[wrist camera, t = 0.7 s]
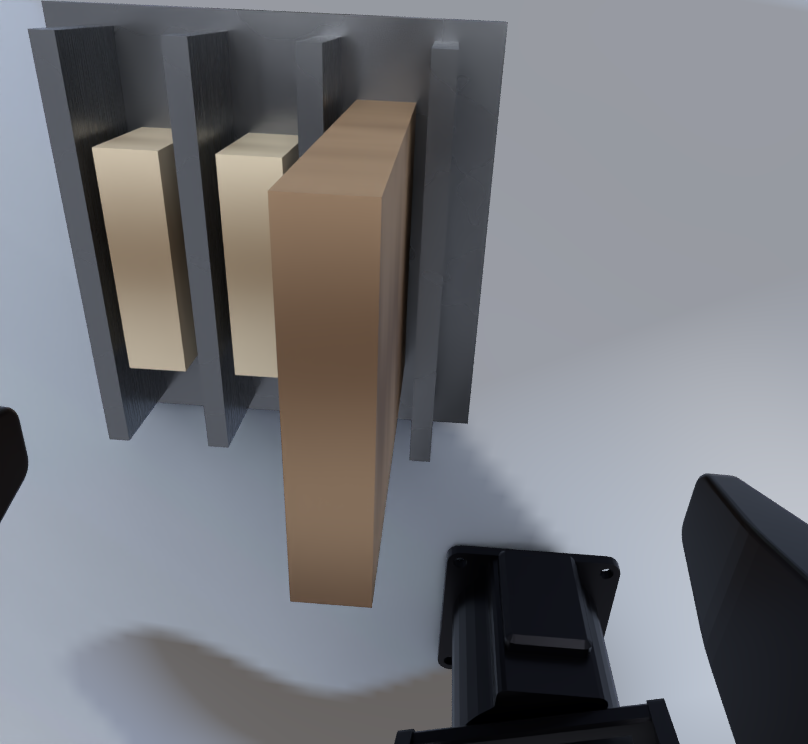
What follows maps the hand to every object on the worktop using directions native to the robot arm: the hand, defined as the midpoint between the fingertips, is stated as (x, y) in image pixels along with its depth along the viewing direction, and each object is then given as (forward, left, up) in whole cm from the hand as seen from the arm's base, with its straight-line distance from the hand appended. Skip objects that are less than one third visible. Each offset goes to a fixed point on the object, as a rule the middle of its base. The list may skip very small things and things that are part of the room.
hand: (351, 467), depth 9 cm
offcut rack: (-1, +4, -13) cm, 13 cm away
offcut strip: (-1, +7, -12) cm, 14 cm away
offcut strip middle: (-1, +4, -12) cm, 13 cm away
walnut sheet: (-1, +1, -12) cm, 12 cm away
